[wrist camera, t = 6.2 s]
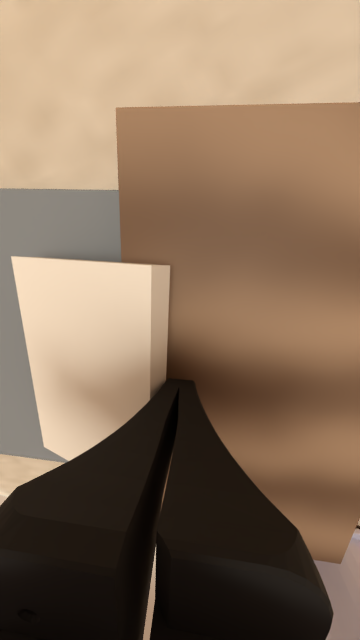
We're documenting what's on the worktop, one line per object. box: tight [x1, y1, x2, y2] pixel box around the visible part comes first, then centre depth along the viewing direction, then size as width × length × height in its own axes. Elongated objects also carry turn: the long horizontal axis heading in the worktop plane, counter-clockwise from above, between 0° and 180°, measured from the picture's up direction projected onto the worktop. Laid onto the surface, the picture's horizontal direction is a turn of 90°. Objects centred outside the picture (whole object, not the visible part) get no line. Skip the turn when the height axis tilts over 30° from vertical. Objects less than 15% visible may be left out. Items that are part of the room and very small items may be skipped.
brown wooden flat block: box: [116, 102, 360, 564], centre depth 12 cm, size 24×14×3 cm, turn 178°
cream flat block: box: [11, 256, 170, 461], centre depth 11 cm, size 12×8×2 cm, turn 177°
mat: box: [0, 189, 121, 463], centre depth 15 cm, size 20×18×1 cm
